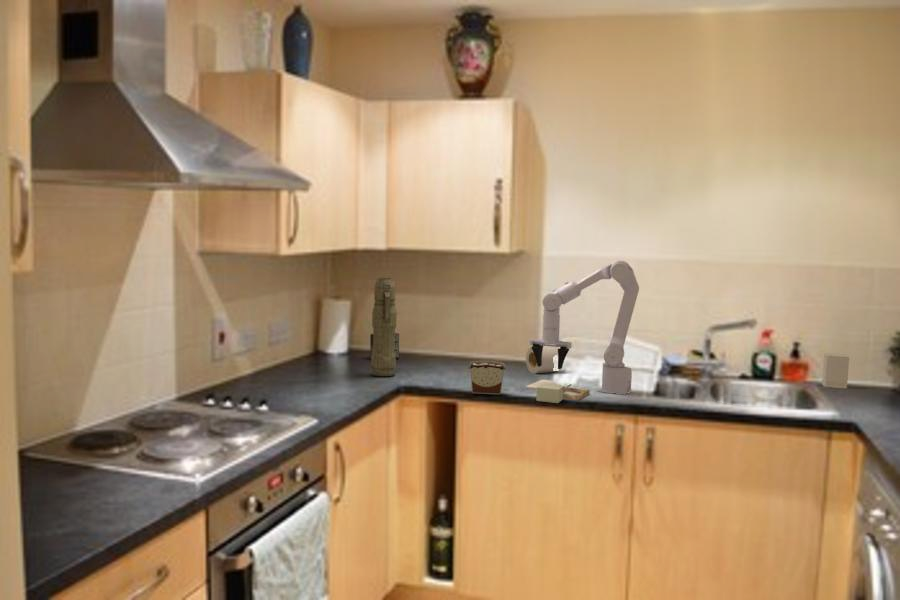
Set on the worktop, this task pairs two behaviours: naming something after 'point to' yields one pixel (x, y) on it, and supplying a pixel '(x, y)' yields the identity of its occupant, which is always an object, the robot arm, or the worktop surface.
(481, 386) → the food container
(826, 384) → the supplement box
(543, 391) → the green block
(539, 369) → the toilet paper
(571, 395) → the wooden square frame
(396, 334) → the small box
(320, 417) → the worktop surface
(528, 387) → the beige mat
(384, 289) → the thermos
